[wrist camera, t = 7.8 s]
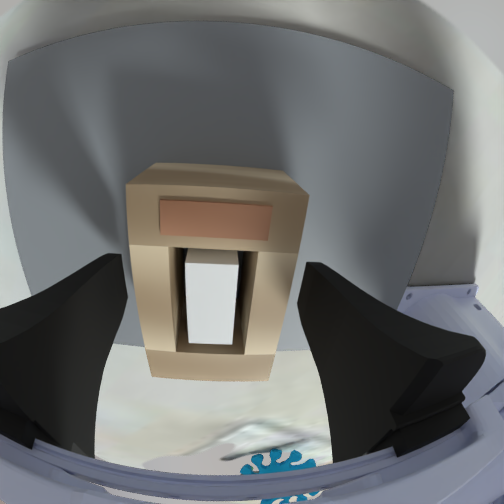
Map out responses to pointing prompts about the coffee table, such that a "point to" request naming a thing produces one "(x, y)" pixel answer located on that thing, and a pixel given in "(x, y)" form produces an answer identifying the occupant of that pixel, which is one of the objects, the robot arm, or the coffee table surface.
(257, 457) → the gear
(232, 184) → the open rectangular tan frame
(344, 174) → the board
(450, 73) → the coffee table surface
